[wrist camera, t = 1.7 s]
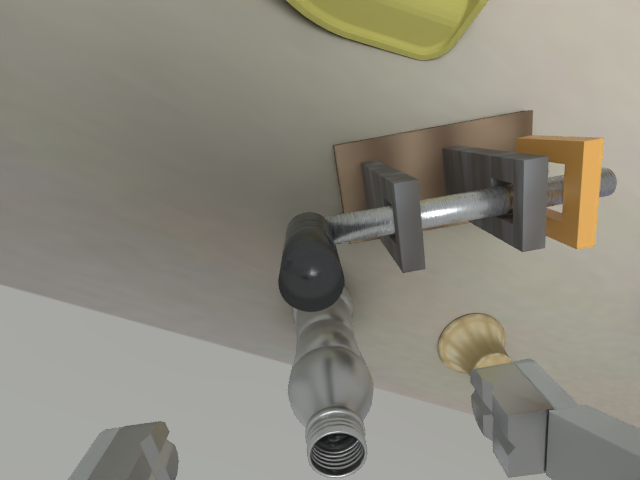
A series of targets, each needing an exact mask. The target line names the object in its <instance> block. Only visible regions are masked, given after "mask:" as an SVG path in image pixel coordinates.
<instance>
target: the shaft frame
mask: <svg viewBox="0 0 640 480" xmlns="http://www.w3.org/2000/svg"><path fill="white" fill-rule="evenodd" d="M532 118H533V110H531V111H521V112H515V113H510V114H504V115H499V116H493V117H487V118H482V119H476V120H471V121H465V122H460V123H454V124H448V125H443V126H437V127H432V128H426V129H421V130H415V131H410V132H404V133H398V134H393V135H387V136H382V137H376V138H371V139H365V140H360V141H354V142H348V143H343V144H337V145H333V147H334V154H335V160H336V167H337V173H338V180H339V186H340V193H341V199H342V206H343V212H344V214H346V213H352V212H357V211H363V210H369V209H374V208H380V207H385V206H391V205H392V208H393V218H394V227H395V234H390V235H384V236H379V237H373V238H367V239H362V240H356V241H350V242H349V244H352V243H358V242H363V241H369V240H375V239H380V240H381V241H382V243H383V244H384V246H385V247H386V249H387V250H388V252H389V253H390V254H391V256H392V257H393V259H394V260H395V262H396V263H397V265H398V266H399V268H400V269H401V271H402V272H403V273H405V272H411V271H417V270H422V269H425V258H424V246H423V233H422V231H426V230H431V229H437V228H443V227H448V226H454V225H460V224H465V223H473V224H474V225H476V226H478V227H480V228H481V229H483V230H485V231H487V232H488V233H490V234H492V235H494V236H495V237H497V238H499V239H501V240H502V241H504V242H506V243H508V244H509V245H511V246H513V247H515V248H516V249H518V250H520V251H522V252H525V251H531V250H536V249H542V248H545V235H546V209H547V183H548V157H549V156H542V155H534V154H525V153H517V152H516V138H520V137H525V136H531V135H532ZM509 184H513V213H509V214H503V215H497V216H492V217H486V218H481V219H475V220H469V221H464V222H458V223H452V224H447V225H441V226H435V227H430V228H424V229H422V221H421V208H420V200H425V199H430V198H436V197H442V196H447V195H453V194H459V193H464V192H470V191H476V190H481V189H487V188H492V187H498V186H504V185H509Z"/></svg>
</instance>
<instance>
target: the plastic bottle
mask: <svg viewBox="0 0 640 480" xmlns="http://www.w3.org/2000/svg"><path fill="white" fill-rule="evenodd" d="M292 310H293V317H294V321H295V324H296V330H297V345H296V354H295V358H294V362H293V366H292V370H291V374H290V378H289V385H288V396H289V401H290V404H291V407H292V410H293V412H294V414H295V416H296V417H297V419H298V420H299V421H300V423H301V424H302V425H303V426H304V427H305V428H306V433H305V435H306V436H305V437H306V443H307V456H308V461H309V463H310V466H311V467H312V468H313V470H315V471H316V472H317V473H319V474H320V475H323V476H326V477H330V478H341V477H345V476H349V475H351V474H353V473H355V472H356V471H357V470H359V469H360V468H361V467H362V465H363V464H364V463H365V460H366V456H367V445H366V441H365V428H364V423H363V421H364V419H365V417H366V416H367V414H368V412H369V410H370V407H371V404H372V397H373V381H372V377H371V374H370V372H369V369H368V367H367V365H366V363H365V360H364V358H363V356H362V354H361V352H360V350H359V348H358V346H357V343H356V340H355V337H354V334H353V327H352V314H353V306H352V300H351V296H350V294H349V293H348V291H347V289H346V288H345V287H344V288H343V291H342V294H341V296H340V297H339V299H338V300H337V301H336V302H335V303H334V304H333V305H331V306H330V307H328V308H326V309H324V310H321V311H317V312H305V311H301V310H298V309H296V308H294V307H292Z"/></svg>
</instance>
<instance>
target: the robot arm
mask: <svg viewBox="0 0 640 480" xmlns="http://www.w3.org/2000/svg"><path fill="white" fill-rule="evenodd" d="M470 379H471V383H472V385H473V387H474V388H475V391H474V393H473V394H472V395H471V400H472V408H473V412H474V416H475V419H476V421H477V423H478V426H479V428H480V430H481V431H482V433H483V435H484V436H485V437H487V438H489V439H490V440H492V441H493V452H494V454H495V456H496V458H497V459H498V461H499V463H500V464H501V466H502V468H503V469H504V471H505V473H506V475H507V476H508V478H510V477H517V476H525V475H532V474H541V473H546V475H547V476H548V477H549V478H551V479H552V480H640V429H639V428H637V427H635V426H633V425H630V424H628V423H626V422H624V421H621V420H619V419H617V418H615V417H612V416H610V415H608V414H606V413H603V412H601V411H599V410H597V409H594V408H592V407H590V406H588V405H580V406H579V405H578V404H577V403H576V402H575V401H574V400H573V399H572V398H571V397H570V396H569V395H568V394H567V393H566V392H565V391H564V390H563V389H562V388H561V387H560V386H559V385H558V384H557V383H556V382H555V381H554V380H553V379H552V378H551V377H550V376H549V375H548V374H547V373H546V372H545V371H544V370H543V369H542V368H541V367H540V366H539V365H538V364H537V363H536V362H535V361H534V360H532V359H525V360H520V361H514V362H510V363H505V364H499V365H493V366H488V367H482V368H476V369H472V370H471V373H470ZM168 434H169V430H168V428H167V426H166V424H165V422H161V421H160V422H153V423H144V424H137V425H130V426H124V427H119V428H112V429H106V430H104V431H103V432H101V433H100V434H99V435H98V437H97V438H96V440H95V441H94V442H93V444H92V445H91V447H90V448H89V450H88V451H87V453H86V454H85V456H84V457H83V458H82V460H81V461H80V463H79V464H78V466H77V467H76V469H75V470H74V472H73V473H72V474H71V476H70V477H69V479H68V480H175V479H176V476H177V470H178V462H179V461H178V453H177V450H176V447H175V445H174V444H173V443H171V442H170V441H168V440H167V436H168Z"/></svg>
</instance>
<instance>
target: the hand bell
mask: <svg viewBox="0 0 640 480" xmlns="http://www.w3.org/2000/svg"><path fill="white" fill-rule="evenodd" d="M504 347H505V333H504V330H503V327H502V326H501V324H500V323H499V322H498V321H497V320H496V319H494V318H493V317H491V316H488V315H485V314H468V315H465V316H462V317H460V318H458V319H456V320H454V321H453V322H451V323H450V324H449V325H448V326H447V327H446V328H445V330H444V331H443V333H442V334H441V337H440V339H439V343H438V353H439V356H440V358H441V360H442V362H443V363H444V364H445V365H446V366H447V367H449V368H450V369H452V370H454V371H457V372H461V373H468V374H469V375H470V373H471V370H472V369H476V368H482V367H488V366H493V365H499V364H505V363H510V362H512V361H511V359H510V358H509V356H508V355H507V353H506V352H505V350H504Z"/></svg>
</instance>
